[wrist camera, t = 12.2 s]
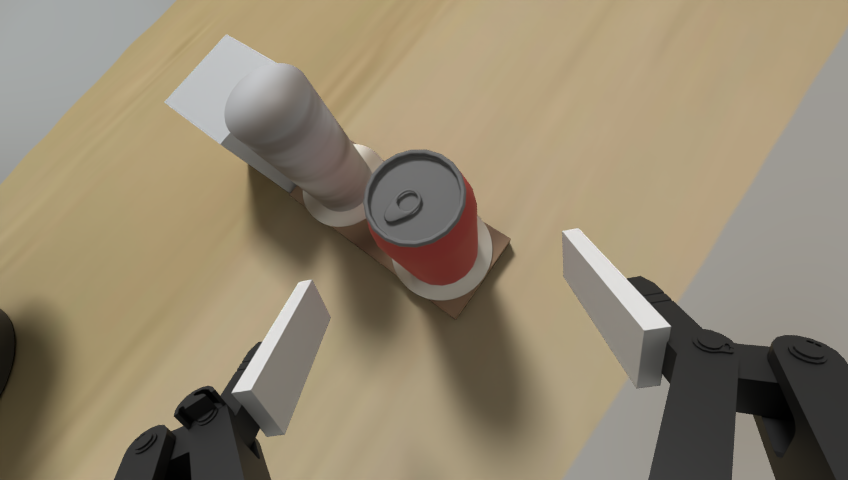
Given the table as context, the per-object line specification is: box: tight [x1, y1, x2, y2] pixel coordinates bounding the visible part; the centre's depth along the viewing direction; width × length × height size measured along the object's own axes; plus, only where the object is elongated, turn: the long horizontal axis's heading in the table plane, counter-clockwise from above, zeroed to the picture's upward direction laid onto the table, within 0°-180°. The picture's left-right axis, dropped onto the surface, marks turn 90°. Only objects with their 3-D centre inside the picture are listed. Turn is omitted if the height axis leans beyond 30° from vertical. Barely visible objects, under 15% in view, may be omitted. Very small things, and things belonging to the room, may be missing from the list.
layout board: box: [224, 63, 511, 319], centre depth 25 cm, size 21×9×13 cm, turn 53°
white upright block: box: [164, 34, 297, 193], centre depth 31 cm, size 8×8×10 cm
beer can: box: [363, 150, 478, 286], centre depth 22 cm, size 7×7×12 cm
